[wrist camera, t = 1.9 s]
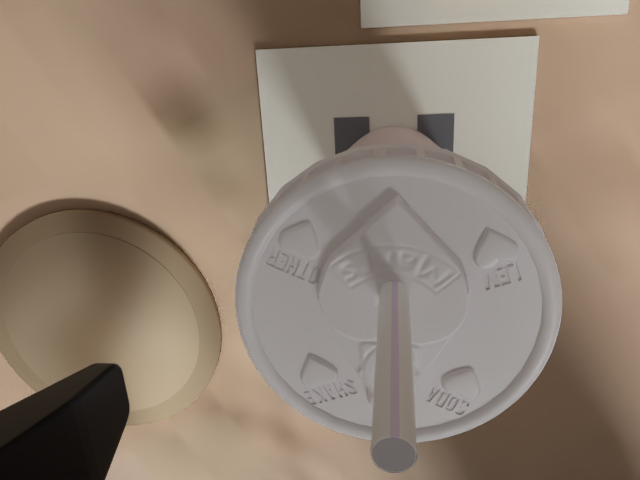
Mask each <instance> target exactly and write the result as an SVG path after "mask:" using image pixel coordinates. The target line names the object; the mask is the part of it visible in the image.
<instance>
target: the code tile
mask: <svg viewBox="0 0 640 480" xmlns="http://www.w3.org/2000/svg"><path fill="white" fill-rule="evenodd" d="M538 47H539V36H521V37H501V38H481V39H461V40H440V41H420V42H400V43H380V44H360V45H340V46H320V47H300V48H280V49H260V50H255V52H256V63H257V74H258V85H259V96H260V107H261V118H262V129H263V140H264V151H265V162H266V173H267V184H268V195H269V203H270V202H271V200H272V199H273V198H274V197H275V195H276V194H277V193H278V191H279V190H280V189H281V188H282V186H284V185H285V184H286V183H288V182H289V181H290V180H292V179H293V178H295V177H296V176H297V175H299V174H300V173H301V172H303V171H304V170H306V169H307V168H308V167H310V166H311V165H312V164H314V163H315V162H317V161H320V160H322V159H325V158H328V157H330V156H333V155H336V154H338V153H341V152H344V151H346V150H348V149H349V148H350V147H351V146H352V145H353V144H355V143H356V142H357V141H358V140H359V139H360V138H362V137H363V136H365V135H366V134H368V133H370V132H372V131H374V130H377V129H380V128H384V127H391V126H398V127H406V128H410V129H413V130H416V131H418V132H420V133H422V134H424V135H425V136H427V137H428V138H429V139H431V140H432V141H433V142H434V143H435V144H437V145H438V146H439V147H440V148H442V149H447V150H449V151H451V152H454V153H456V154H458V155H460V156H463V157H465V158H467V159H469V160H472V161H474V162H476V163H478V164H481V165H483V166H485V167H487V168H488V169H489V170H491V171H492V172H493V173H494V174H496V175H497V176H498V177H499V178H500V179H502V180H503V181H504V182H505V183H506V184H508V185H509V186H510V187H511V188H512V189H514V190H515V191H516V192H517V193H518V194H520V196H521V197H522V198H523V200H524V201H525V203H526V192H527V180H528V168H529V156H530V144H531V131H532V119H533V107H534V95H535V83H536V71H537V59H538Z"/></svg>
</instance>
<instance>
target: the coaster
mask: <svg viewBox="0 0 640 480" xmlns="http://www.w3.org/2000/svg"><path fill="white" fill-rule="evenodd" d="M221 342H222V332H221V322H220V317H219V312H218V308H217V305H216V303H215V300H214V297H213V295H212V293H211V291H210V289H209V287H208V285H207V283H206V281H205V279H204V278H203V276H202V275H201V273H200V272H199V270H198V269H197V267H196V266H195V265H194V264H193V263H192V262H191V260H190V259H189V258H188V257H187V256H186V255H185V254H184V253H183V252H182V251H181V250H180V249H179V248H178V247H177V246H176V245H175V244H173V243H172V242H171V241H169V240H168V239H167V238H165V237H164V236H163V235H161V234H160V233H158V232H157V231H155V230H153V229H151V228H150V227H148V226H146V225H145V224H142V223H140V222H138V221H135V220H133V219H131V218H128V217H125V216H122V215H119V214H115V213H112V212H106V211H101V210H92V209H73V210H63V211H59V212H54V213H50V214H47V215H45V216H42V217H40V218H37V219H35V220H34V221H32V222H30V223H28V224H27V225H25V226H23V227H22V228H20V229H18V230H17V231H16V232H15V233H14V234H12V235H11V236H10V237H9V238H8V239H7V240H6V241H5V242H4V243H3V245H2V246H1V247H0V351H1V353H2V354H3V356H4V357H5V359H6V360H7V362H8V363H9V365H10V366H11V367H12V368H13V369H14V371H15V372H16V373H17V374H18V375H19V376H20V377H21V378H22V379H23V380H24V381H25V382H26V383H27V384H28V385H29V386H30V387H31V388H32V389H33V390H35V391H36V392H38V391H40V390H42V389H44V388H46V387H48V386H50V385H52V384H54V383H56V382H58V381H60V380H62V379H64V378H66V377H68V376H70V375H72V374H74V373H76V372H78V371H80V370H82V369H84V368H86V367H88V366H89V365H91V364H94V363H115V364H118V365H119V366H120V367H121V369H122V372H123V376H124V380H125V385H126V389H127V394H128V399H129V404H130V412H129V417H128V420H127V423H126V425H142V424H149V423H153V422H157V421H161V420H164V419H166V418H169V417H171V416H173V415H175V414H177V413H179V412H180V411H182V410H184V409H185V408H187V407H188V406H189V405H190V404H192V403H193V402H194V401H195V400H196V399H197V398H198V397H199V396H200V394H201V393H202V392H203V391H204V389H205V388H206V386H207V385H208V383H209V381H210V380H211V378H212V376H213V373H214V371H215V369H216V366H217V364H218V360H219V356H220V352H221Z"/></svg>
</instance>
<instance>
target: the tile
mask: <svg viewBox="0 0 640 480" xmlns="http://www.w3.org/2000/svg"><path fill="white" fill-rule="evenodd" d="M360 7H361V28H375V27H394V26H413V25H431V24H450V23H469V22H487V21H506V20H525V19H543V18H562V17H580V16H599V15H618V14H628V7H629V0H360Z"/></svg>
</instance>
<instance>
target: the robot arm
mask: <svg viewBox="0 0 640 480" xmlns="http://www.w3.org/2000/svg"><path fill="white" fill-rule="evenodd" d="M129 412H130V404H129V399H128V394H127V389H126V385H125V380H124V376H123V372H122V369H121V367H120V366H119V365H118V364H115V363H94V364H91V365H89V366H88V367H86V368H84V369H82V370H80V371H78V372H76V373H74V374H72V375H70V376H68V377H66V378H64V379H62V380H60V381H58V382H56V383H54V384H52V385H50V386H48V387H46V388H44V389H42V390H40V391H38V392H36V393H34V394H33V395H31V396H29V397H27V398H25V399H23V400H21V401H19V402H17V403H15V404H13V405H11V406H9V407H7V408H5V409H3V410H1V411H0V480H105V478H106V476H107V473H108V470H109V468H110V465H111V463H112V460H113V457H114V455H115V452H116V449H117V447H118V444H119V442H120V439H121V436H122V434H123V431H124V428H125V426H126V423H127V420H128V417H129Z"/></svg>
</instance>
